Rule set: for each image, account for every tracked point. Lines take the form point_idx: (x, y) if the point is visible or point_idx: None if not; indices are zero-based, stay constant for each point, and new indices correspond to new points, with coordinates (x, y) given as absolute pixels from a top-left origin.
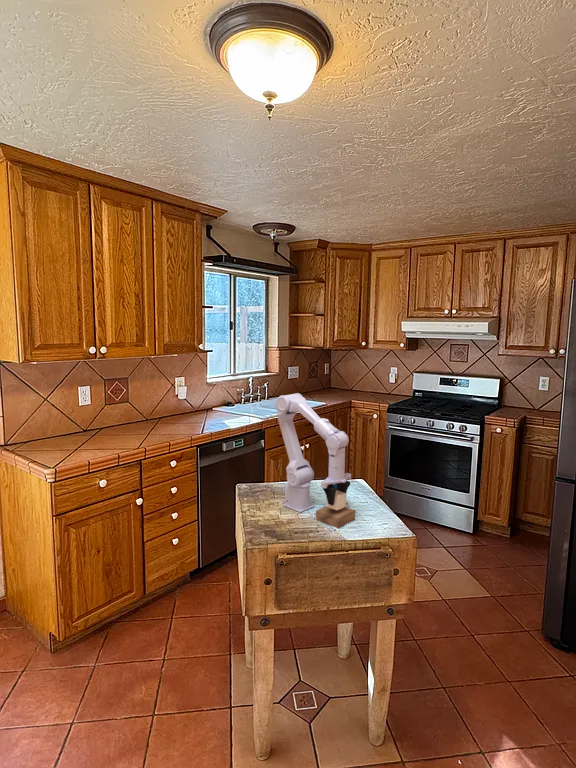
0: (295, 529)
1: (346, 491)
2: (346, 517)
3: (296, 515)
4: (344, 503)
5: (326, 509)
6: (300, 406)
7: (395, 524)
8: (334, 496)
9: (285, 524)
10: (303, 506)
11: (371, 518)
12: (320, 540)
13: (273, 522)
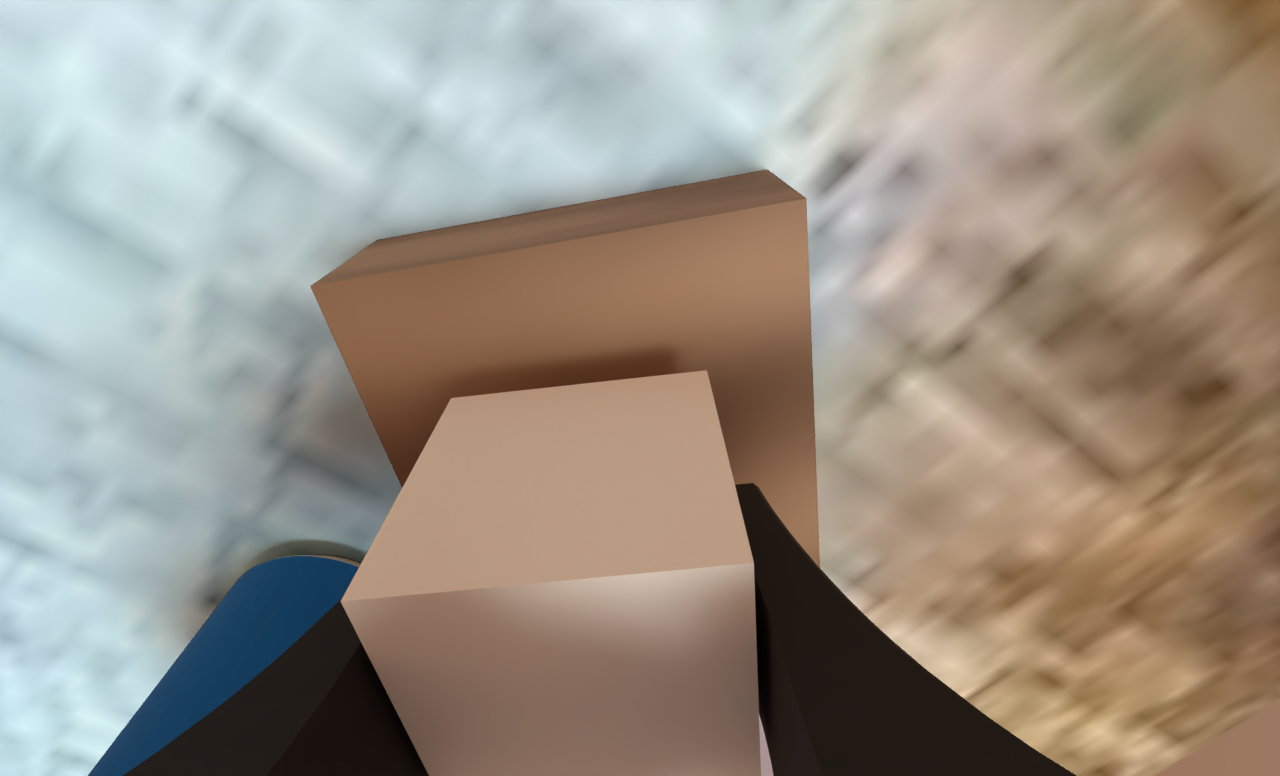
0: (1131, 450)
1: (126, 728)
2: (571, 228)
3: None
4: (477, 433)
5: None
6: None
7: None
8: (785, 613)
9: (1083, 571)
10: None
11: (103, 120)
12: (1264, 36)
13: (1110, 643)
